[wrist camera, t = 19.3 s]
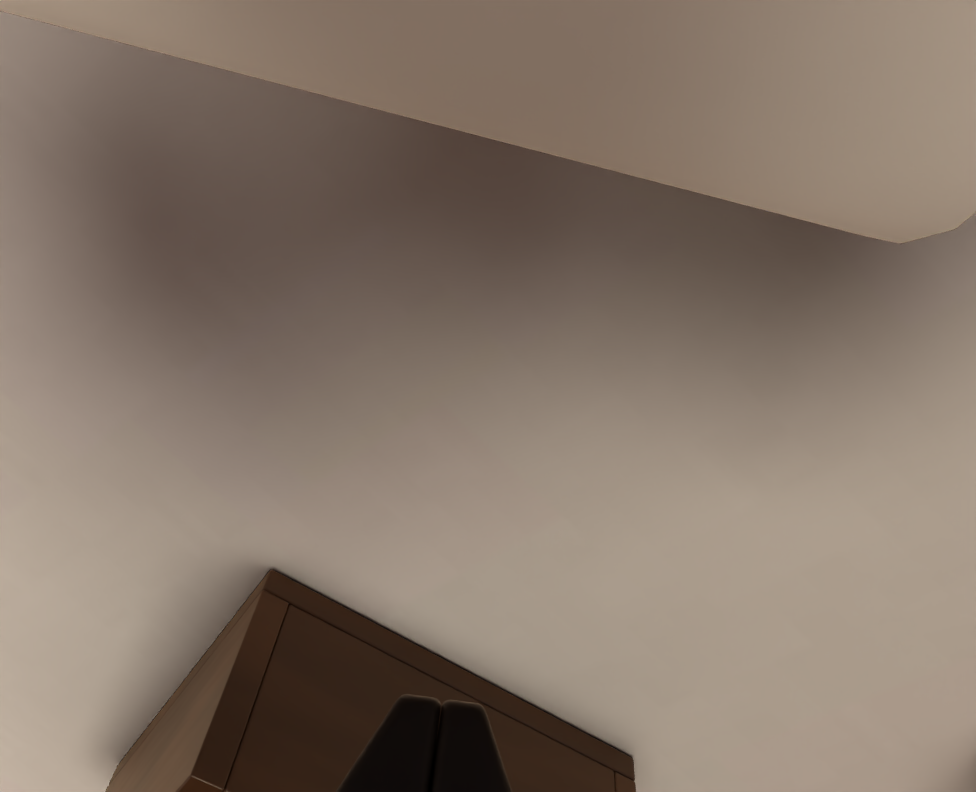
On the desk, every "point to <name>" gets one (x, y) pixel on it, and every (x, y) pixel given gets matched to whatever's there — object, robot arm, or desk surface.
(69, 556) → the desk surface
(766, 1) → the cup
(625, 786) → the chest
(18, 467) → the desk surface
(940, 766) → the desk surface
